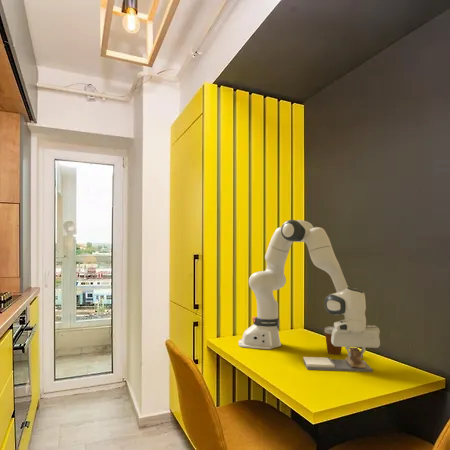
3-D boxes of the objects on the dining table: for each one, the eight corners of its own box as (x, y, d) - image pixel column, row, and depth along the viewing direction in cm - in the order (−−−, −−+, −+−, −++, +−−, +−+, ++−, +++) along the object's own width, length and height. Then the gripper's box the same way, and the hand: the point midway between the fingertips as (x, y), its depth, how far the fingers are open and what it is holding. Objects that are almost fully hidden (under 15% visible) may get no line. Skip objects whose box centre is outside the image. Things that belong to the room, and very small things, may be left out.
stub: (351, 367, 150) (351, 352, 151) (345, 359, 160) (345, 346, 161) (366, 367, 150) (366, 353, 150) (359, 360, 160) (358, 346, 160)
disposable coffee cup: (322, 354, 172) (322, 329, 173) (326, 349, 181) (326, 325, 182) (342, 357, 168) (342, 331, 169) (345, 352, 176) (345, 327, 177)
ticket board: (307, 369, 151) (307, 364, 151) (303, 360, 163) (303, 355, 163) (372, 371, 149) (372, 366, 149) (363, 362, 161) (363, 357, 161)
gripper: (376, 324, 158) (377, 355, 158) (330, 322, 160) (330, 354, 159) (382, 327, 152) (382, 360, 151) (333, 325, 154) (333, 358, 153)
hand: (355, 357), depth 155 cm, fingers closed on stub, 3 cm apart
